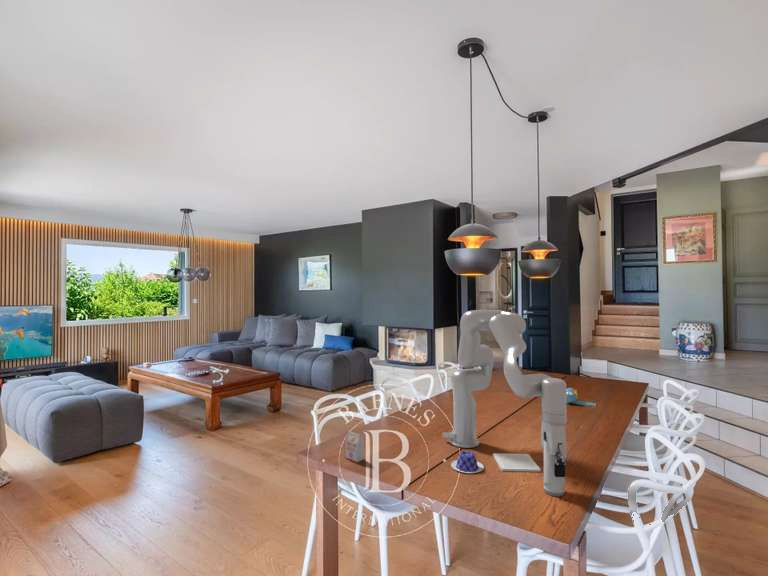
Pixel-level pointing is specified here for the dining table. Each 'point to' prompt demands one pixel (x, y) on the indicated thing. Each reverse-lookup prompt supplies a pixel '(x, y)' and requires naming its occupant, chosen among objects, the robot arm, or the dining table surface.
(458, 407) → the robot arm
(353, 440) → the small printed carton
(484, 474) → the dining table surface
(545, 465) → the travel mug
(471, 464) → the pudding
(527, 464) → the plate
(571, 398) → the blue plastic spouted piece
